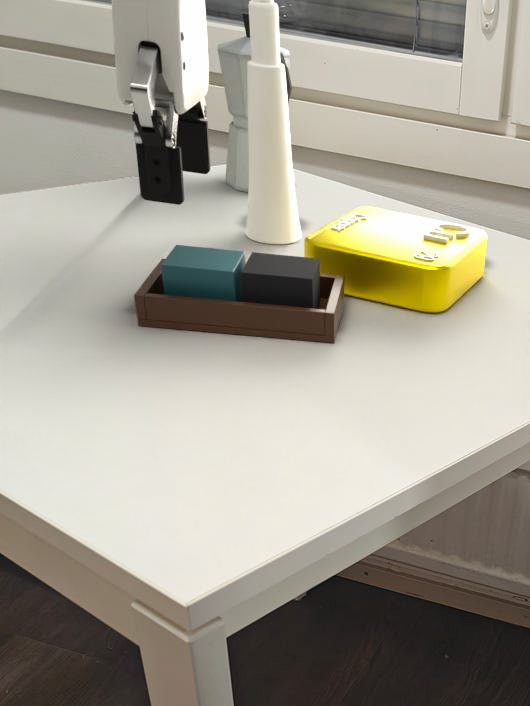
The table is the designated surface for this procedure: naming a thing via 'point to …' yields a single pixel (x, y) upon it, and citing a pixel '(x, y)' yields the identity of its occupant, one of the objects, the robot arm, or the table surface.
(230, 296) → the teal block
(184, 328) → the tray
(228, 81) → the coffee maker
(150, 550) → the table surface
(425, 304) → the element tile
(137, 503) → the table surface
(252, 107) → the cosmetic bottle
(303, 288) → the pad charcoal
